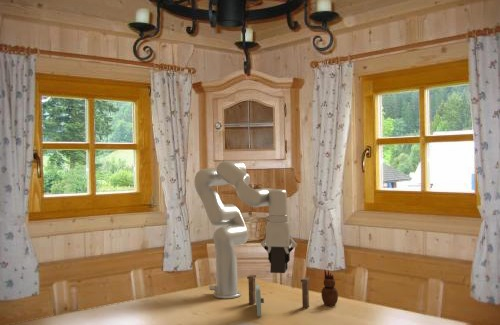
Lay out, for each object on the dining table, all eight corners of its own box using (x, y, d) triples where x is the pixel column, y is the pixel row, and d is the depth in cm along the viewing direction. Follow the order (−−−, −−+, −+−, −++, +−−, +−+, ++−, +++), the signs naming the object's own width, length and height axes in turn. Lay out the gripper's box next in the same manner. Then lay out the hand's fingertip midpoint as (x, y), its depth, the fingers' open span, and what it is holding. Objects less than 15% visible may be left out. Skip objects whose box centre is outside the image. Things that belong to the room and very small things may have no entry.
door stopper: (284, 273, 212) (284, 243, 211) (270, 272, 213) (269, 243, 213) (287, 268, 220) (287, 240, 220) (273, 268, 222) (273, 240, 221)
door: (256, 303, 223) (255, 284, 222) (262, 303, 223) (262, 284, 223) (257, 316, 204) (257, 295, 204) (264, 316, 204) (263, 295, 204)
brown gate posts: (247, 304, 223) (247, 276, 223) (250, 302, 227) (250, 274, 227) (308, 308, 214) (307, 279, 214) (310, 306, 218) (309, 277, 218)
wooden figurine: (319, 305, 220) (318, 269, 219) (327, 302, 224) (326, 267, 224) (332, 307, 215) (331, 271, 215) (340, 304, 219) (339, 269, 219)
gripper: (255, 219, 216) (256, 263, 216) (296, 220, 210) (297, 265, 210) (261, 217, 223) (262, 259, 223) (300, 218, 217) (301, 261, 217)
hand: (279, 261), depth 217 cm, fingers closed on door stopper, 6 cm apart
